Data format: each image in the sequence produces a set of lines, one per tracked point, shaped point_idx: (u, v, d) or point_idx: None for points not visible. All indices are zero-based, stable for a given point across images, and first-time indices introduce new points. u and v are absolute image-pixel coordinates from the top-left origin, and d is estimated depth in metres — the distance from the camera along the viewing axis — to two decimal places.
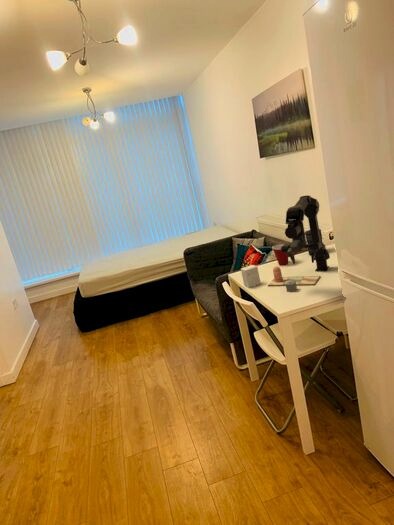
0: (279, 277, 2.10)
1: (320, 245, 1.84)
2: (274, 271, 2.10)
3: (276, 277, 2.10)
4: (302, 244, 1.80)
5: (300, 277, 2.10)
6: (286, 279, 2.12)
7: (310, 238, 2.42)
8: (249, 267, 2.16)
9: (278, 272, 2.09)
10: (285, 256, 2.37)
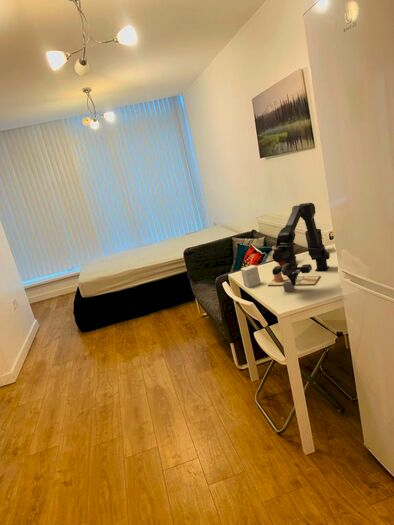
0: (279, 277, 2.10)
1: (310, 268, 1.89)
2: None
3: (276, 277, 2.10)
4: (293, 268, 1.85)
5: (300, 277, 2.10)
6: (286, 279, 2.12)
7: None
8: (249, 267, 2.16)
9: None
10: None
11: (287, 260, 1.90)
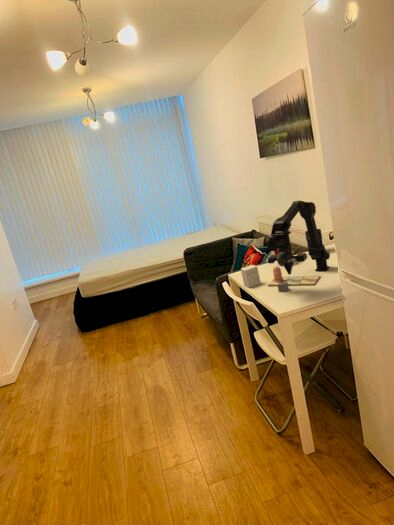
0: (279, 277, 2.10)
1: (305, 257, 1.88)
2: (274, 271, 2.10)
3: (276, 277, 2.10)
4: (287, 256, 1.84)
5: (300, 277, 2.10)
6: (286, 279, 2.12)
7: None
8: (249, 267, 2.16)
9: (278, 272, 2.09)
10: None
11: (282, 249, 1.89)
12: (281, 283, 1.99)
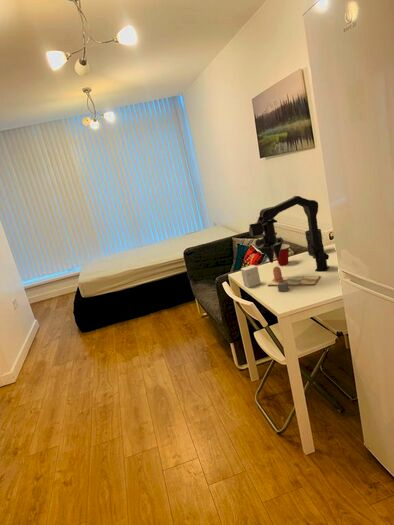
0: (279, 277, 2.10)
1: (266, 250, 2.00)
2: (274, 271, 2.10)
3: (276, 277, 2.10)
4: None
5: (300, 277, 2.10)
6: (286, 279, 2.12)
7: None
8: (249, 267, 2.16)
9: (278, 272, 2.09)
10: (285, 256, 2.37)
11: None
12: (281, 283, 1.99)
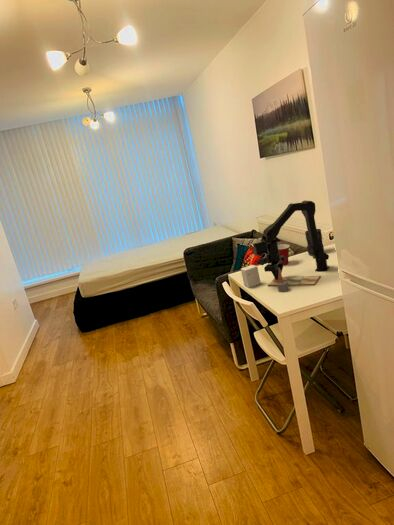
0: (279, 277, 2.10)
1: (270, 269, 2.03)
2: None
3: None
4: None
5: (300, 277, 2.10)
6: (286, 279, 2.12)
7: None
8: (249, 267, 2.16)
9: None
10: None
11: None
12: (281, 283, 1.99)
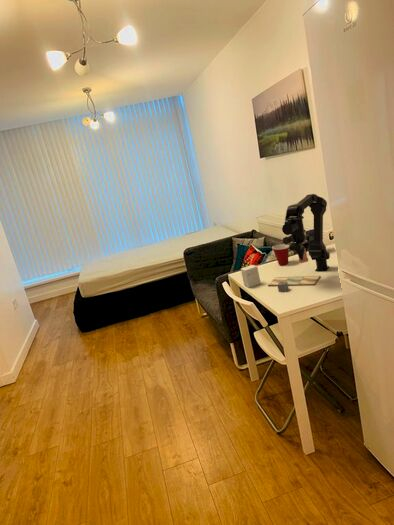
0: (304, 257, 1.99)
1: (295, 248, 1.92)
2: None
3: None
4: None
5: (300, 277, 2.10)
6: (286, 279, 2.12)
7: None
8: (249, 267, 2.16)
9: None
10: (285, 256, 2.37)
11: None
12: (281, 283, 1.99)
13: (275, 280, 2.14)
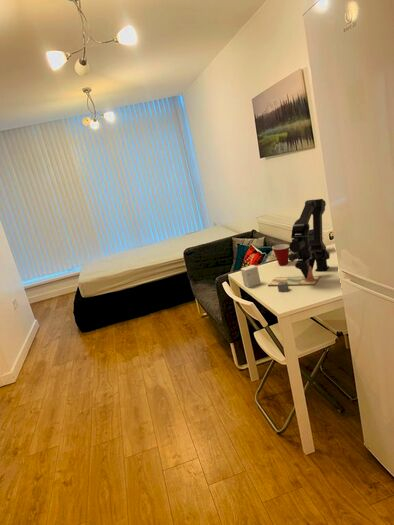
0: (310, 276, 2.01)
1: (301, 265, 1.93)
2: None
3: (307, 276, 2.01)
4: None
5: (300, 277, 2.10)
6: (286, 279, 2.12)
7: (310, 238, 2.42)
8: (249, 267, 2.16)
9: (309, 271, 2.00)
10: (285, 256, 2.37)
11: None
12: (281, 283, 1.99)
13: (275, 280, 2.14)
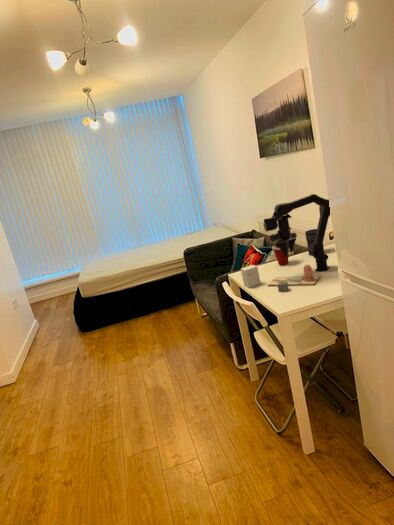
0: (310, 276, 2.01)
1: (281, 245, 2.03)
2: (305, 270, 2.01)
3: (307, 276, 2.01)
4: None
5: (300, 277, 2.10)
6: (286, 279, 2.12)
7: (310, 238, 2.42)
8: (249, 267, 2.16)
9: (309, 271, 2.00)
10: None
11: None
12: (281, 283, 1.99)
13: (275, 280, 2.14)
